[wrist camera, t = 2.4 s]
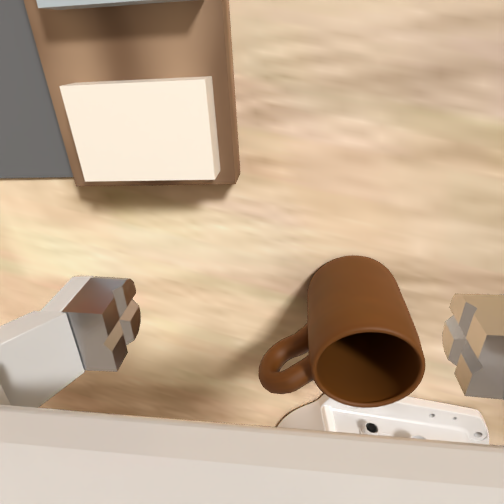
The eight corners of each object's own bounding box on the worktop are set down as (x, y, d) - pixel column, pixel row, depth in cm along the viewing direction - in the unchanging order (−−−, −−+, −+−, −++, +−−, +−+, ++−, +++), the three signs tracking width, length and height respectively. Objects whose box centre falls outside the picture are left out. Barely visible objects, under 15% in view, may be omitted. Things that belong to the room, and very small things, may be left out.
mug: (283, 346, 37) (278, 432, 29) (247, 286, 34) (231, 364, 26) (407, 308, 34) (442, 395, 26) (379, 238, 31) (408, 311, 23)
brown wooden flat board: (218, -153, 21) (209, -175, 19) (240, 173, 29) (235, 184, 27) (13, -129, 22) (-18, -147, 20) (91, 175, 31) (76, 186, 29)
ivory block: (211, 76, 24) (204, 79, 22) (220, 170, 27) (214, 179, 25) (75, 82, 25) (59, 86, 23) (98, 172, 28) (85, 181, 26)
